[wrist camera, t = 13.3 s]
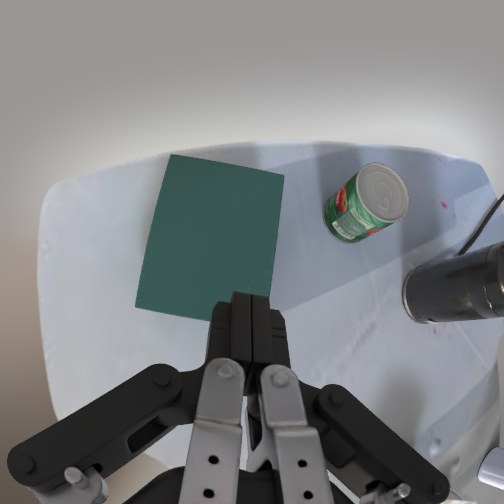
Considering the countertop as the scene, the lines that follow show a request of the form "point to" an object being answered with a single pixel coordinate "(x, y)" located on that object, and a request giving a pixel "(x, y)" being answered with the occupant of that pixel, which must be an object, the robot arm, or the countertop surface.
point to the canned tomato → (366, 204)
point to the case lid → (209, 237)
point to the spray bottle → (493, 468)
